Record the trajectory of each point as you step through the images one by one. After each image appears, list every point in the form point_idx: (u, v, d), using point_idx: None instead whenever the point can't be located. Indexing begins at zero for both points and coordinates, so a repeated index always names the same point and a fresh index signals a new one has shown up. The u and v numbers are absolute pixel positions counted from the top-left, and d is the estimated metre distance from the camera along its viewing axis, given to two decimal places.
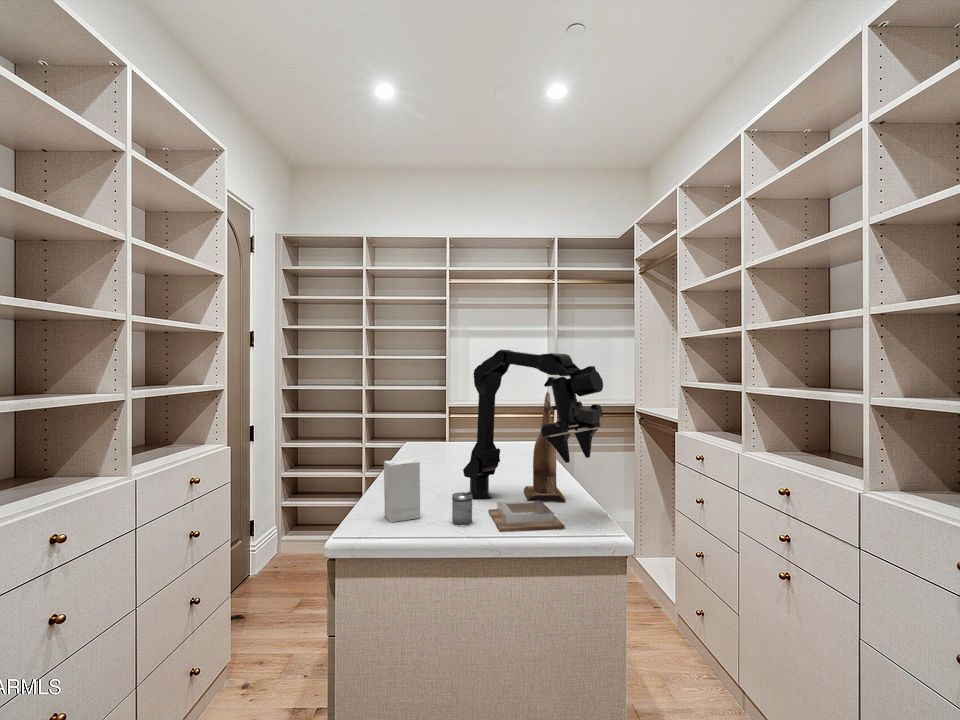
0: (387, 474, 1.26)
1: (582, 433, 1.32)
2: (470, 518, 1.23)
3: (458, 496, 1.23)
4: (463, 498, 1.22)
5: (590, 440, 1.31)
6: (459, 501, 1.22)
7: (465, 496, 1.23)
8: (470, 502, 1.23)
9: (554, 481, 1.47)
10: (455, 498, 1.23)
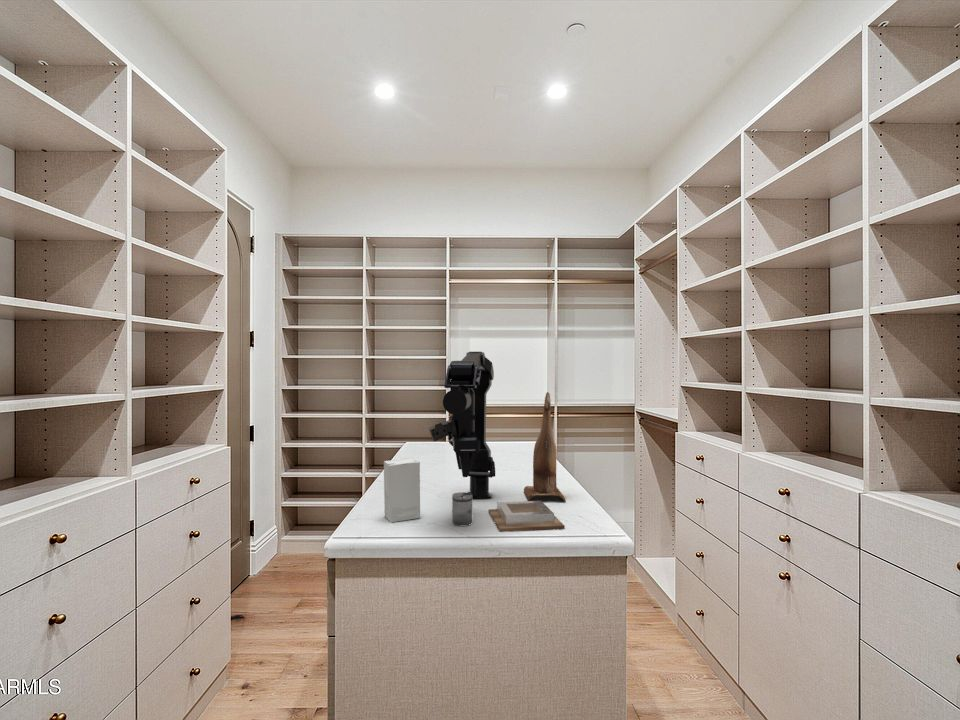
0: (387, 474, 1.26)
1: None
2: (470, 518, 1.23)
3: (458, 496, 1.23)
4: (463, 498, 1.22)
5: (460, 460, 1.19)
6: (459, 501, 1.22)
7: (465, 496, 1.23)
8: (470, 502, 1.23)
9: (554, 481, 1.47)
10: (455, 498, 1.23)
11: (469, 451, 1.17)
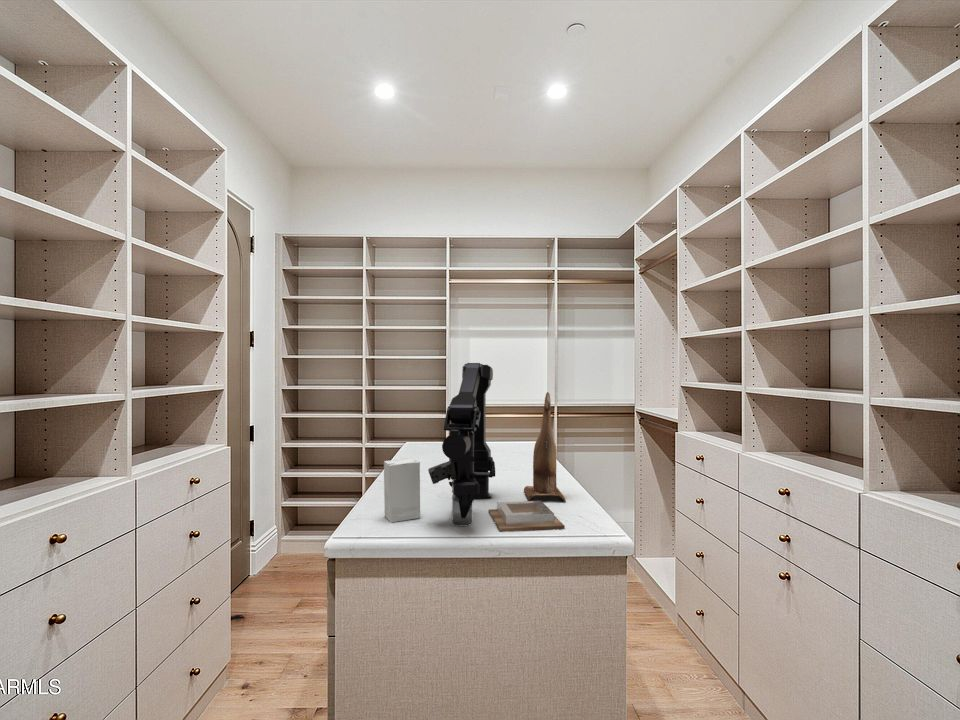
0: (387, 474, 1.26)
1: None
2: (470, 518, 1.23)
3: None
4: None
5: (458, 501, 1.21)
6: None
7: None
8: None
9: (554, 481, 1.47)
10: (455, 498, 1.23)
11: None
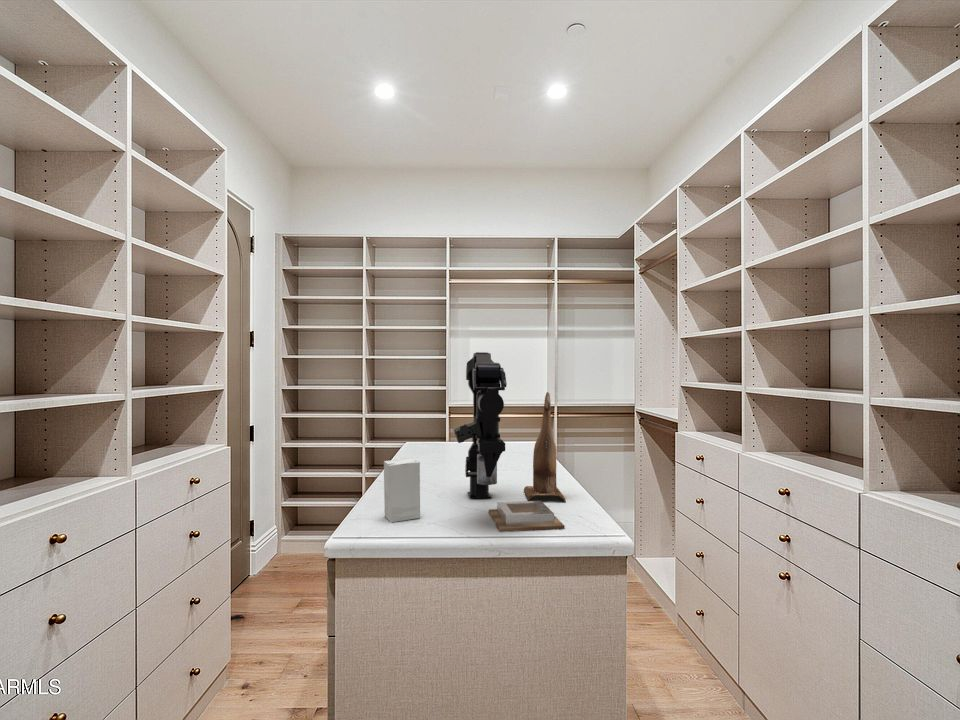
0: (387, 474, 1.26)
1: None
2: (495, 477, 1.24)
3: None
4: None
5: None
6: None
7: None
8: None
9: (554, 481, 1.47)
10: (480, 457, 1.24)
11: (493, 451, 1.20)
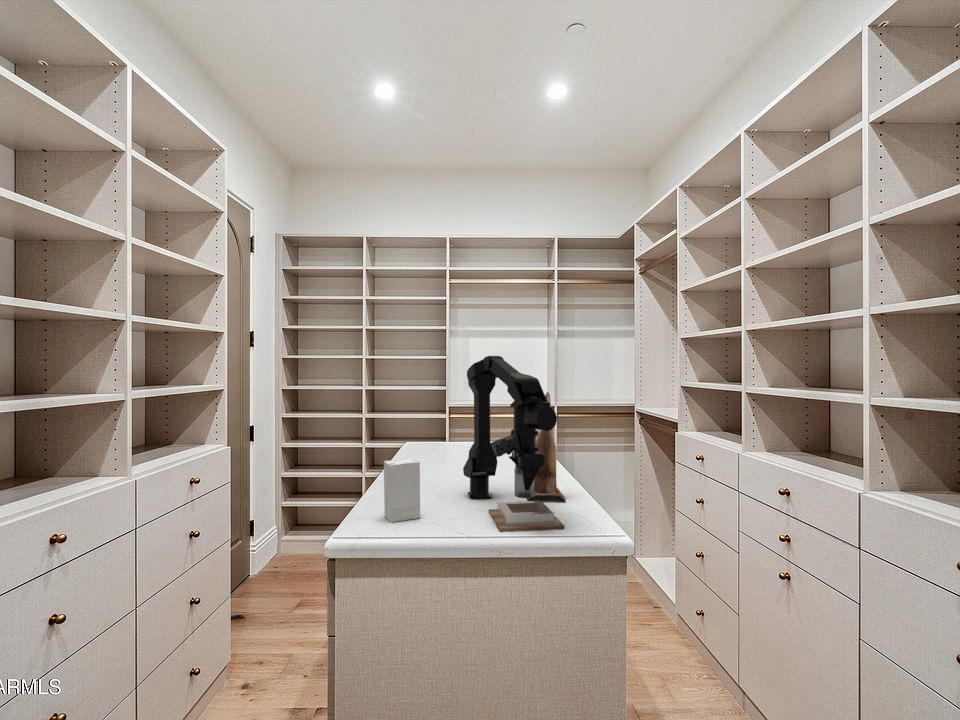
0: (387, 474, 1.26)
1: None
2: (533, 490, 1.26)
3: None
4: None
5: (522, 473, 1.23)
6: None
7: None
8: None
9: (554, 481, 1.47)
10: (518, 471, 1.25)
11: (532, 465, 1.21)
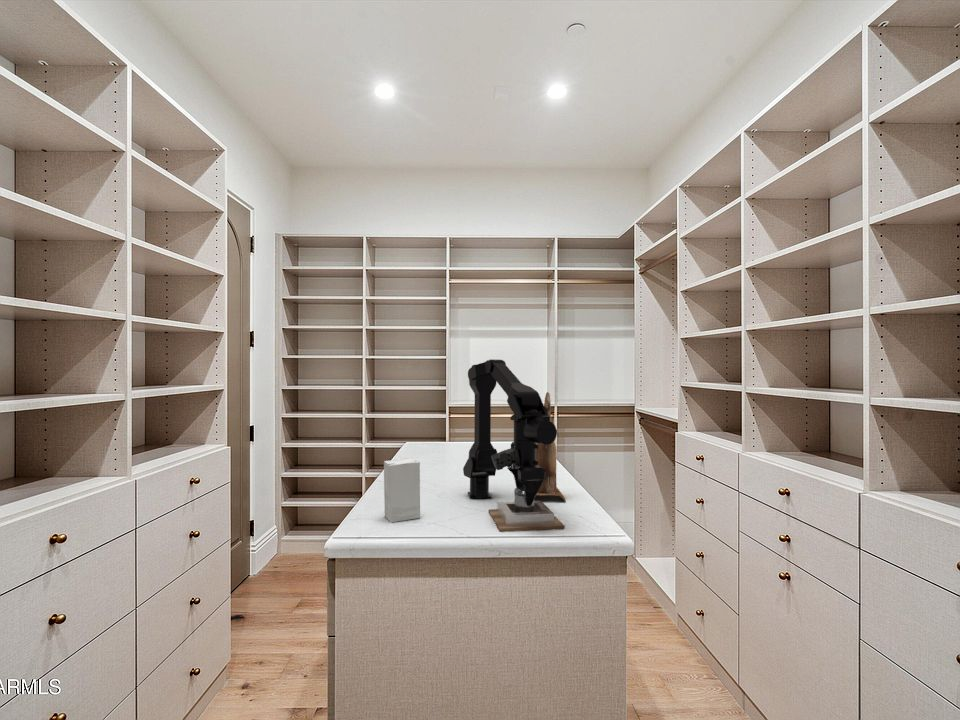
0: (387, 474, 1.26)
1: None
2: None
3: (521, 490, 1.25)
4: None
5: (524, 489, 1.21)
6: (522, 495, 1.24)
7: None
8: None
9: (554, 481, 1.47)
10: (518, 492, 1.25)
11: (535, 481, 1.19)
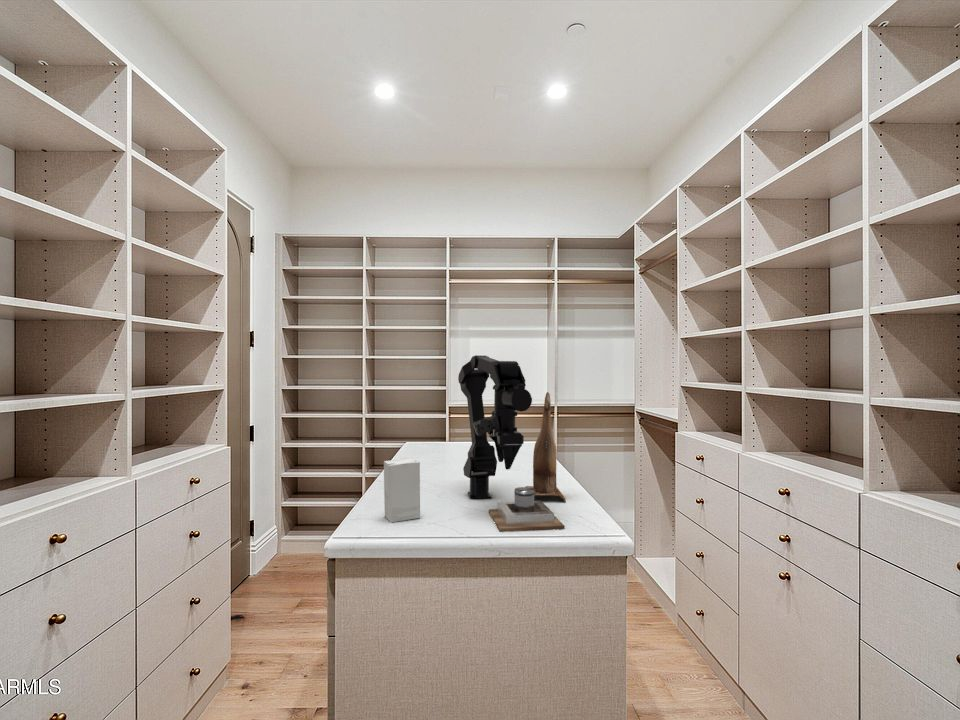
0: (387, 474, 1.26)
1: None
2: None
3: (521, 490, 1.25)
4: (526, 492, 1.24)
5: (503, 453, 1.28)
6: (522, 495, 1.24)
7: (528, 490, 1.25)
8: (533, 496, 1.26)
9: (554, 481, 1.47)
10: (518, 492, 1.25)
11: (513, 445, 1.26)
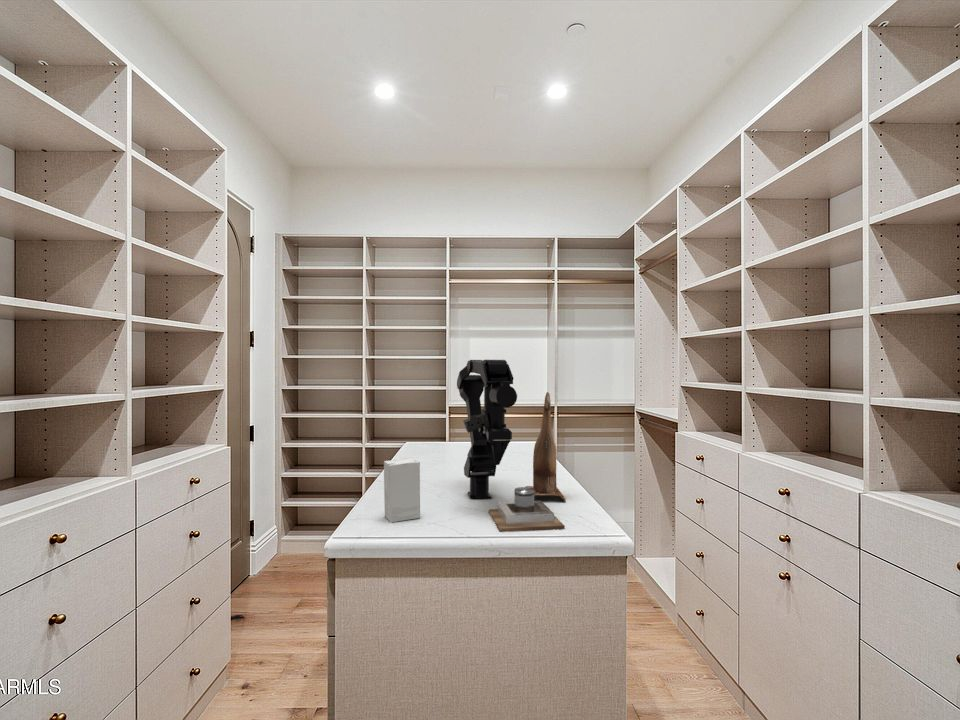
0: (387, 474, 1.26)
1: None
2: None
3: (521, 490, 1.25)
4: (526, 492, 1.24)
5: (492, 449, 1.31)
6: (522, 495, 1.24)
7: (528, 490, 1.25)
8: (533, 496, 1.26)
9: (554, 481, 1.47)
10: (518, 492, 1.25)
11: (501, 441, 1.29)
